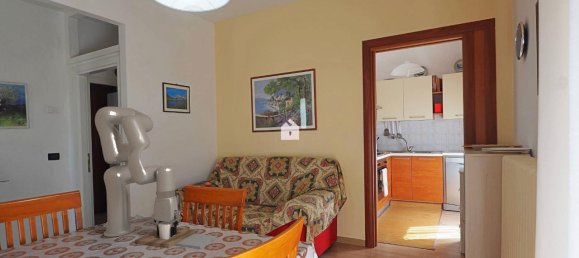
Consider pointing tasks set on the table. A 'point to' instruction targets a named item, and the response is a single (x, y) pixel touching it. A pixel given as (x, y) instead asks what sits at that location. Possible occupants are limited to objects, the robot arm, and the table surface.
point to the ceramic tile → (196, 241)
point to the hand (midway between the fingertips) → (166, 234)
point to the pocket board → (166, 243)
